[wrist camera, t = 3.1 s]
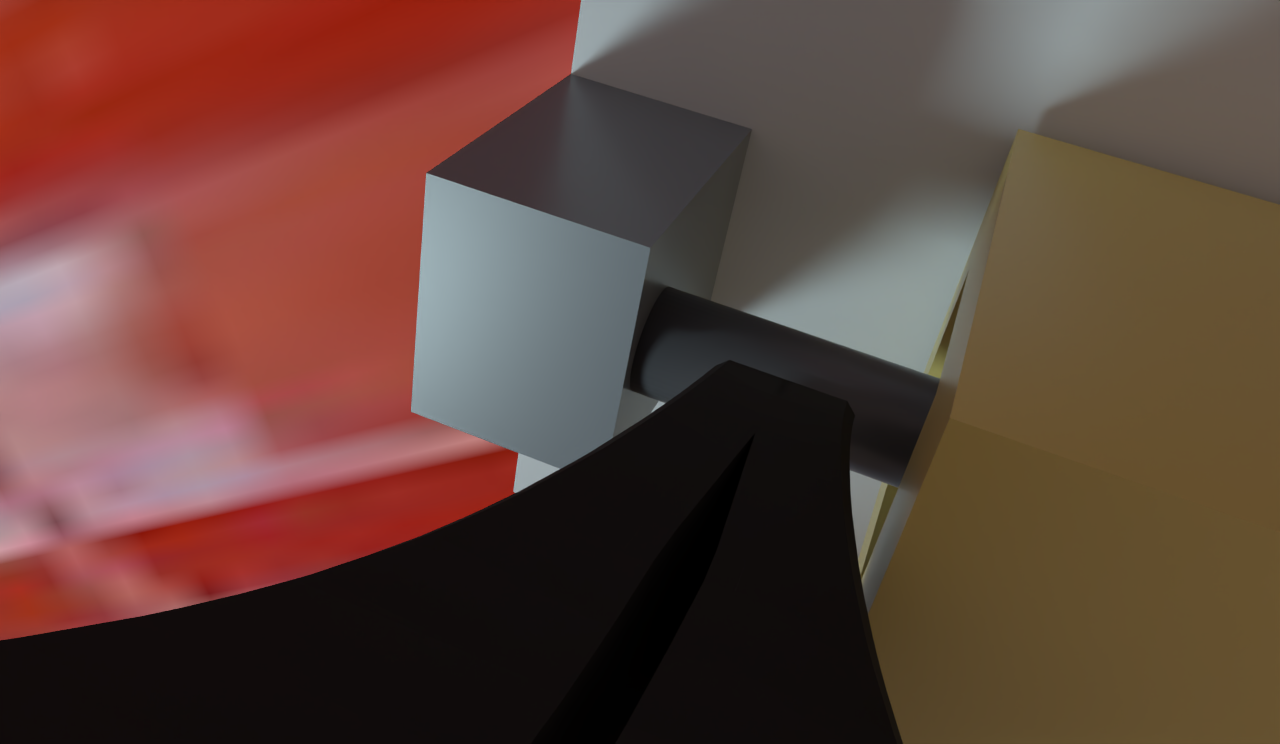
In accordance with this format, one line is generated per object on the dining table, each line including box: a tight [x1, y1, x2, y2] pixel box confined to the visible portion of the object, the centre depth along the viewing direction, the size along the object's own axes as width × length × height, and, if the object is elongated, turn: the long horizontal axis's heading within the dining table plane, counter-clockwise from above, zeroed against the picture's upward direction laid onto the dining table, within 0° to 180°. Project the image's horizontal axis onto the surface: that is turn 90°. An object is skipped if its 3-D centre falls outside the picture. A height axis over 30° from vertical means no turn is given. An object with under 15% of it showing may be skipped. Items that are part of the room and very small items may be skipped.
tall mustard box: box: [858, 129, 1280, 744], centre depth 11 cm, size 5×4×6 cm
